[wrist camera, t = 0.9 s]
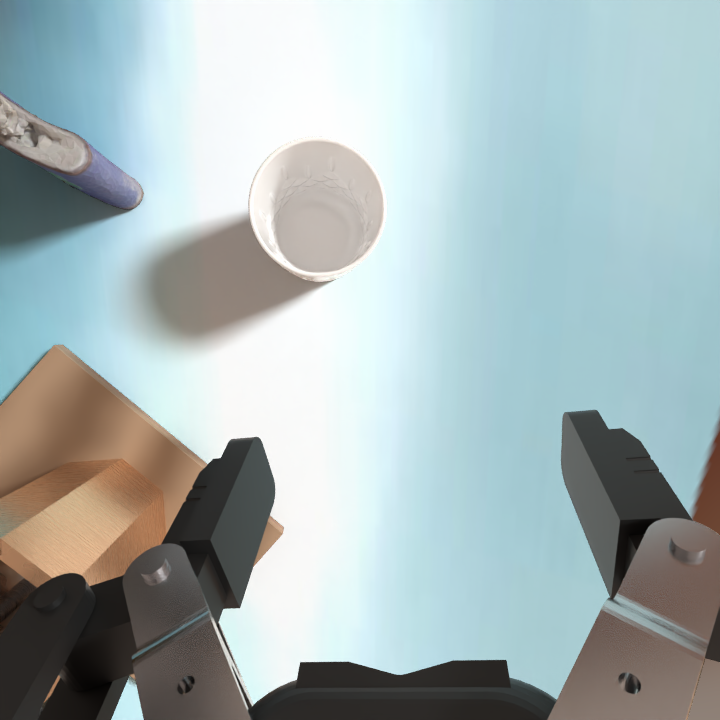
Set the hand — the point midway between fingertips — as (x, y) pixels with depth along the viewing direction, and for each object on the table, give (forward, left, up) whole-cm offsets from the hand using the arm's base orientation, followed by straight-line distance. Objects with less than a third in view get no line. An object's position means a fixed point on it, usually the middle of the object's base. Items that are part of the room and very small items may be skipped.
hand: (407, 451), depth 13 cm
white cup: (-9, +6, -26) cm, 28 cm away
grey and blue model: (-25, -2, -26) cm, 36 cm away
